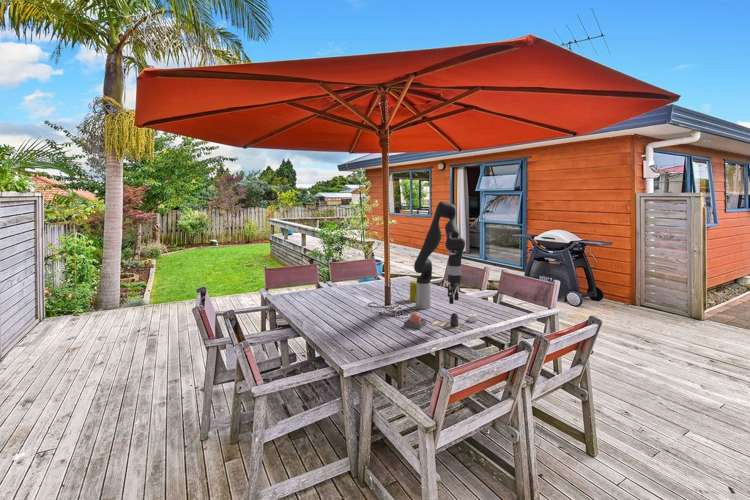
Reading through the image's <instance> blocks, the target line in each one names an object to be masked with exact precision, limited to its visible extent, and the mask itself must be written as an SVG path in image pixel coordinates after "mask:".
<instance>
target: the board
mask: <svg viewBox="0 0 750 500" xmlns="http://www.w3.org/2000/svg"><path fill="white" fill-rule="evenodd" d="M428 325H429V326H433V327H441V328H446V329H447V328H448V329H451V330H452V329H454V330H460V329H462V328H463V327H464V326H465V324H463V323H458V327H452V326H450V321H443V320H439V319H434V320H433V321H432V322H430V323H429V324H428Z"/></svg>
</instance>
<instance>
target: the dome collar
mask: <svg viewBox="0 0 750 500" xmlns="http://www.w3.org/2000/svg"><path fill="white" fill-rule="evenodd" d="M425 326H427V319H426V318H421V322H420V323H414V322H410V317H409V318H408V319H406V320H404V321H403V327H405V328H409V329H415V330H421V329H422V328H424V327H425Z"/></svg>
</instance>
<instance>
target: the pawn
mask: <svg viewBox="0 0 750 500" xmlns="http://www.w3.org/2000/svg"><path fill="white" fill-rule="evenodd" d="M449 320H450V321H449V322H450V326H452V327H458V324H459V317H458V314H457V313H456V312H453V313H451V315H450V318H449Z"/></svg>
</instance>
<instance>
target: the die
mask: <svg viewBox="0 0 750 500" xmlns="http://www.w3.org/2000/svg"><path fill="white" fill-rule="evenodd" d="M468 322H471V323H477V322H478V316H477V314H476V313H468Z"/></svg>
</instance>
